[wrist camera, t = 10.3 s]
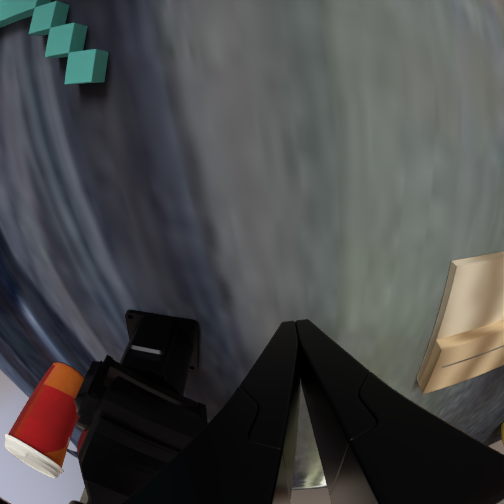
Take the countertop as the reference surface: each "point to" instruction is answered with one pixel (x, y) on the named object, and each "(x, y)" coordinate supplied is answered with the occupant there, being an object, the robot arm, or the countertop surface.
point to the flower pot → (502, 432)
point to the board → (467, 324)
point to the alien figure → (59, 37)
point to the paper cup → (47, 421)
